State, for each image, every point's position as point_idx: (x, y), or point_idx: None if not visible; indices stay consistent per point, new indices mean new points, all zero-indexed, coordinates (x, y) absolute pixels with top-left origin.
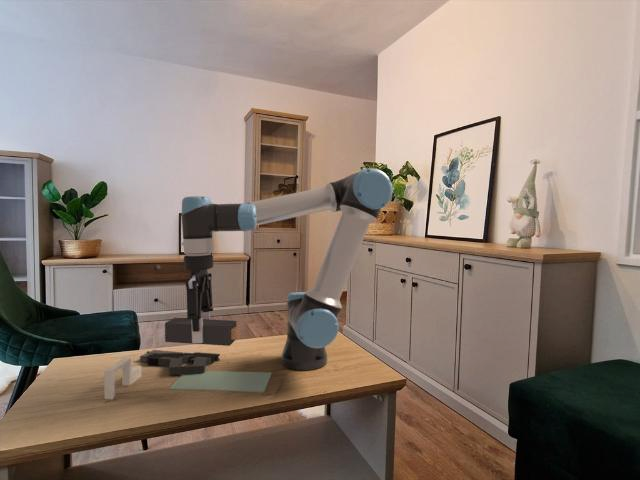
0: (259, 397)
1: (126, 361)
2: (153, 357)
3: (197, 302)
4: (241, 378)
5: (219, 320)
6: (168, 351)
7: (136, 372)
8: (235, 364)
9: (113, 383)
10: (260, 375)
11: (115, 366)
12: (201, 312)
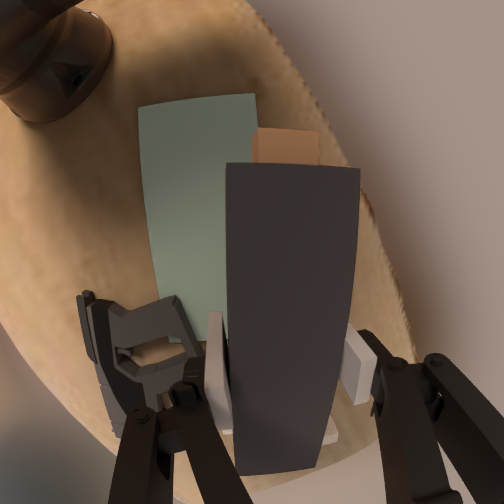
0: (276, 101)
1: None
2: None
3: (477, 414)
4: (186, 176)
5: (239, 287)
6: (110, 413)
7: None
8: (92, 237)
9: None
10: (159, 130)
11: None
12: (224, 423)
